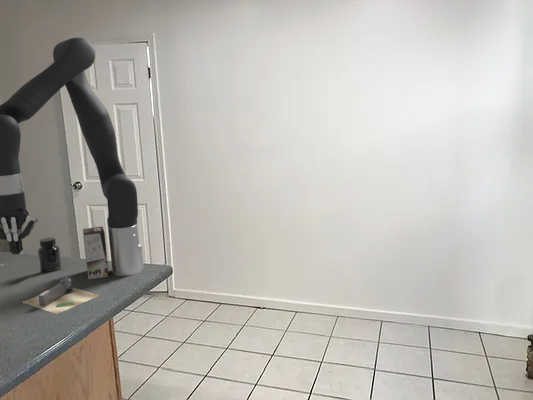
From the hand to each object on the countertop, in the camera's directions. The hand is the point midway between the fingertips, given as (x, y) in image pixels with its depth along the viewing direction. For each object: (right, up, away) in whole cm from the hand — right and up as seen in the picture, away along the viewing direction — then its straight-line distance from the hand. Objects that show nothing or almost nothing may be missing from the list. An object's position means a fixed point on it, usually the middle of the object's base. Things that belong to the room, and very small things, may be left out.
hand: (16, 253), depth 129 cm
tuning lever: (+8, -13, +6) cm, 17 cm away
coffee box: (+13, -11, +26) cm, 31 cm away
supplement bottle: (-5, -10, +32) cm, 34 cm away
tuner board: (+10, -15, +6) cm, 19 cm away
